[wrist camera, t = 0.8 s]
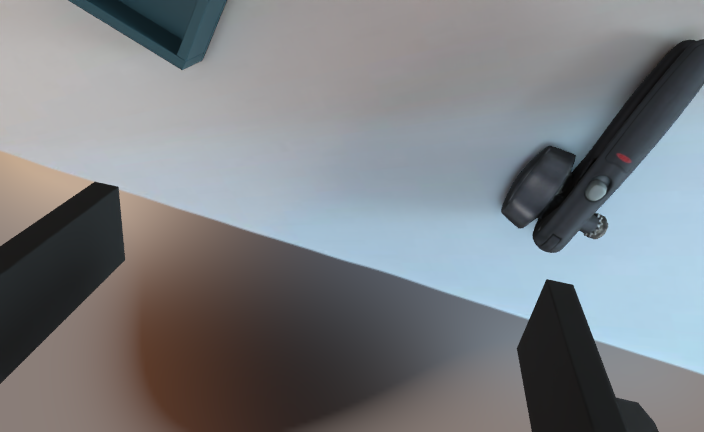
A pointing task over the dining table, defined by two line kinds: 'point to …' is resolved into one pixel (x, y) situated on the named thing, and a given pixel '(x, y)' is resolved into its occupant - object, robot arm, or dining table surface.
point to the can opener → (603, 156)
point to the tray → (162, 24)
